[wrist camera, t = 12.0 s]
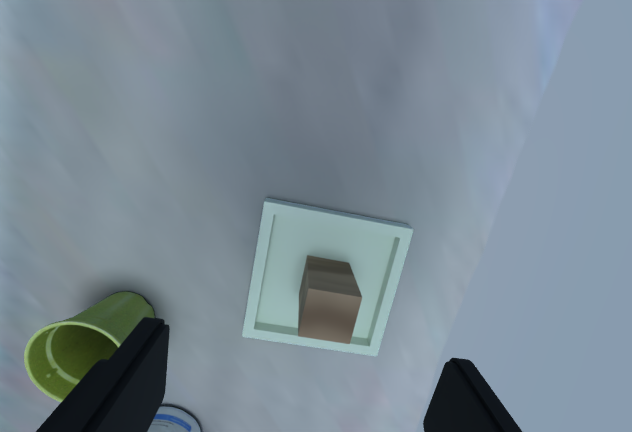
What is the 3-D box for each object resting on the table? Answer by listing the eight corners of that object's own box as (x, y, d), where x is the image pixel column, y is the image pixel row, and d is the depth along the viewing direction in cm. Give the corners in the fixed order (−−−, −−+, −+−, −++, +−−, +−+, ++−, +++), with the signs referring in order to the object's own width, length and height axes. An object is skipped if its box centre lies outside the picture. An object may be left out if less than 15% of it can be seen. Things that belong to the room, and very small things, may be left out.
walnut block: (307, 255, 35) (308, 288, 27) (349, 262, 35) (362, 297, 28) (298, 293, 36) (297, 336, 28) (339, 300, 36) (349, 344, 29)
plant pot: (168, 351, 38) (130, 411, 30) (89, 343, 37) (27, 403, 29) (171, 283, 36) (130, 327, 27) (87, 273, 35) (19, 316, 27)
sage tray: (266, 197, 34) (264, 201, 32) (407, 224, 35) (413, 229, 33) (245, 325, 37) (241, 336, 35) (372, 345, 39) (376, 356, 37)
